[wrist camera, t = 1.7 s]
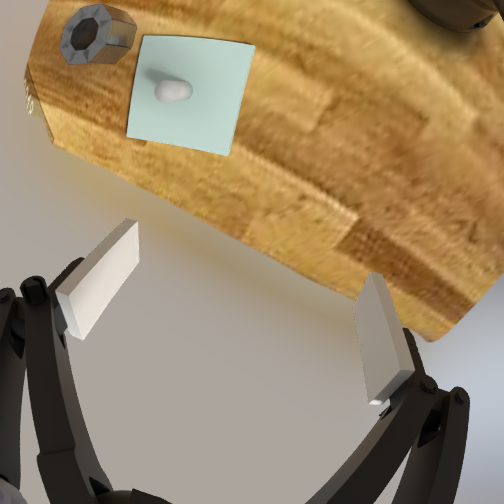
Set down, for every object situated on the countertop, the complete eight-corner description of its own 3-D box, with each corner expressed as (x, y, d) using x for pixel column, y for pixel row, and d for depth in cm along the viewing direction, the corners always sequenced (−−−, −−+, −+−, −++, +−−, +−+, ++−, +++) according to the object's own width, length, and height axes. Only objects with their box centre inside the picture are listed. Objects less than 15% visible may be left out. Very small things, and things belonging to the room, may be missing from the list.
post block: (147, 36, 26) (121, 29, 20) (255, 47, 26) (248, 36, 21) (130, 135, 33) (103, 145, 28) (229, 154, 34) (216, 167, 28)
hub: (94, 15, 24) (68, 10, 18) (141, 10, 24) (117, 1, 19) (83, 65, 28) (56, 66, 23) (128, 64, 28) (102, 62, 23)
